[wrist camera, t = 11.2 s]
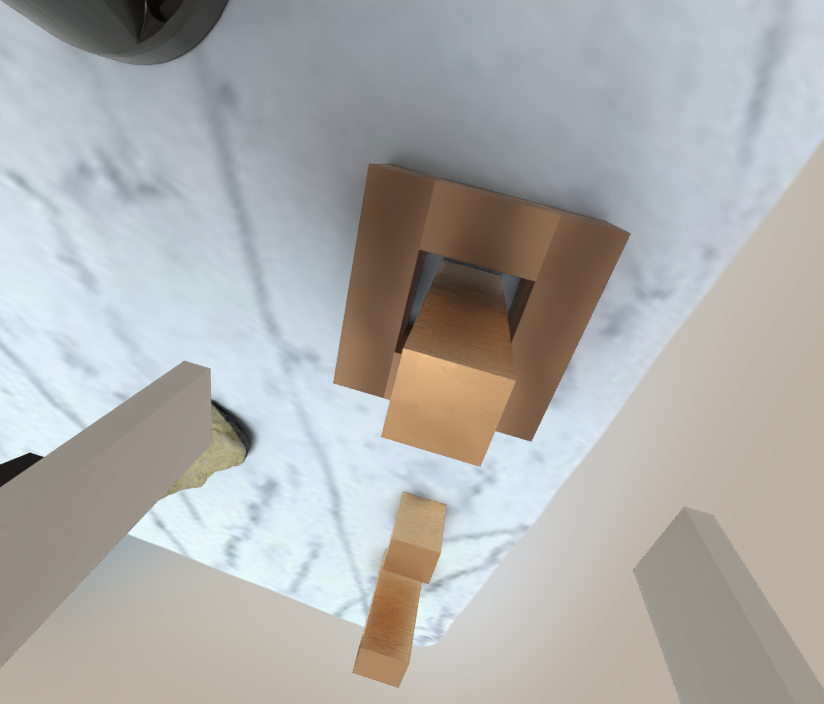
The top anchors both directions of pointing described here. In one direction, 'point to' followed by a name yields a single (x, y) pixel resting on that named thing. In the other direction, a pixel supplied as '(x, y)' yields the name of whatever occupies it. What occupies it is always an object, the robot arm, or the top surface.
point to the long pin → (454, 367)
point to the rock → (215, 452)
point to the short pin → (416, 538)
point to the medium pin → (389, 628)
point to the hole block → (483, 246)
